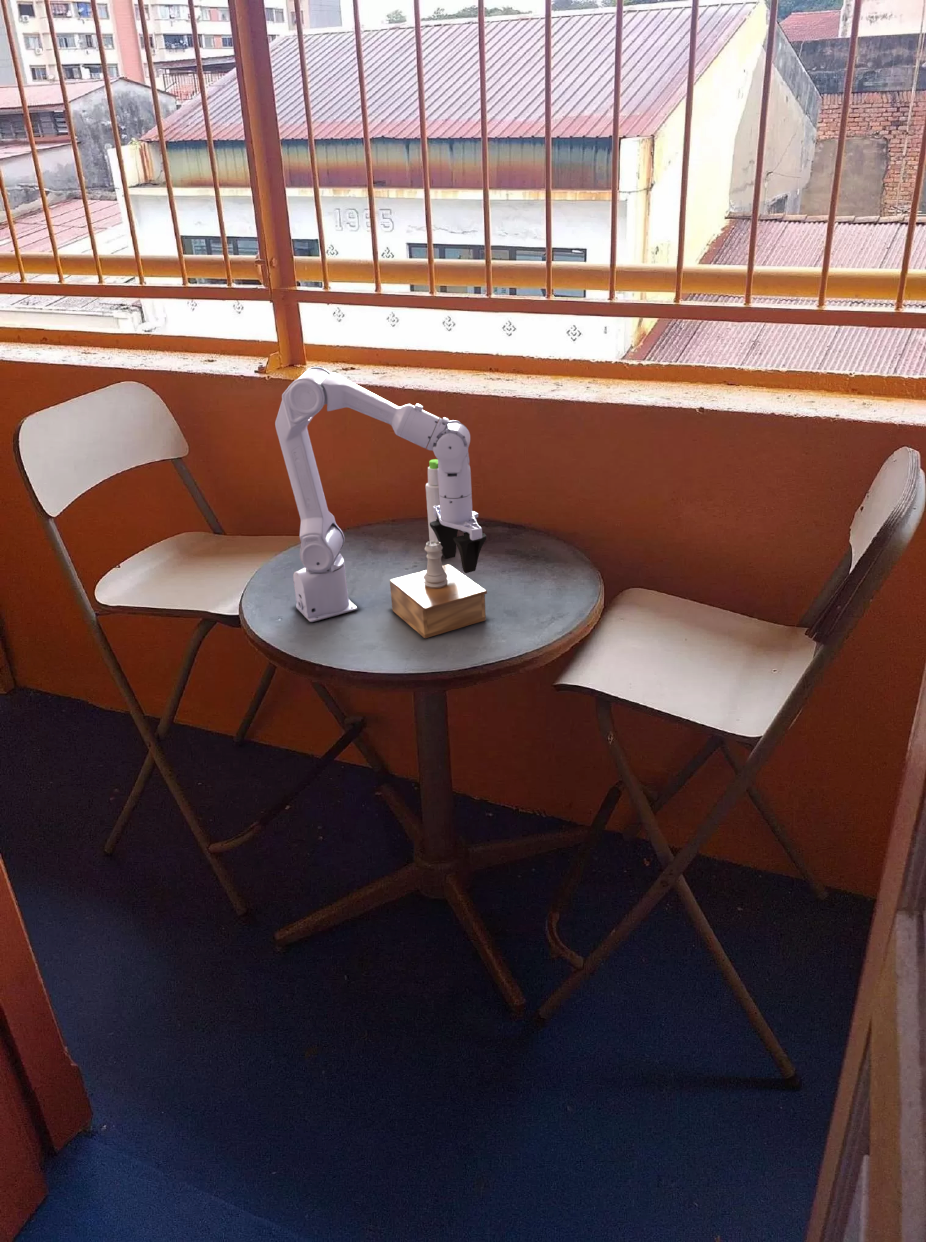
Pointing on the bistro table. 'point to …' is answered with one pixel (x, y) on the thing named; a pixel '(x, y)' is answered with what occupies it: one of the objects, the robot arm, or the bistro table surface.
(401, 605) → the keepsake box
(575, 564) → the bistro table surface
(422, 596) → the lid
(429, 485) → the bottle
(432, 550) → the rook chess piece
